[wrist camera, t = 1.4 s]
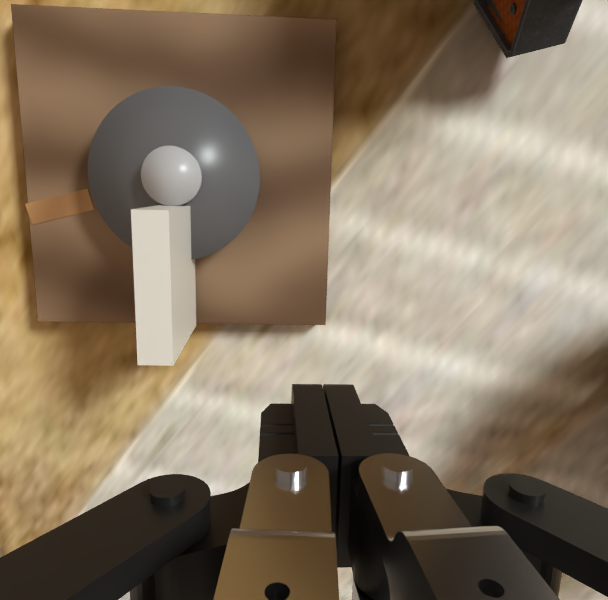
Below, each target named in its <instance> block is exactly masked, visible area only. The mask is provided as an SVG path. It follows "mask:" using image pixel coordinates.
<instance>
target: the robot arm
mask: <svg viewBox="0 0 608 600" xmlns="http://www.w3.org/2000/svg"><path fill="white" fill-rule="evenodd" d="M337 567H352V571H353V587H352V600H559V598H558V594H559V587H560V581H561V574H562V572H563V573H565V574H567V575H569V576H571V577H572V578H574V579H576V580H578V581H580V582H581V583H583V584H585V585H587V586H589V587H591V588H592V589H594V590H596V591H598V592H600V593H602V594H603V595H605V596H607V597H608V509H607V508H605V507H602V506H600V505H598V504H595V503H593V502H591V501H588V500H586V499H584V498H582V497H579V496H577V495H575V494H572V493H570V492H568V491H565V490H563V489H561V488H558V487H556V486H554V485H552V484H549V483H547V482H545V481H542V480H540V479H537V478H533V477H530V476H526V475H520V474H499V475H495V476H492V477H490V478H489V479H487V480H486V482H485V483H484V488H483V496H478V495H473V494H467V493H462V492H457V491H452V490H449V489H446V488H445V487H444V486H443V484H442V483H441V481H440V480H439V478H438V477H437V476H436V474H435V473H434V471H433V470H432V469H431V468H430V467H429V466H428V465H427V464H425V463H424V462H422V461H420V460H418V459H416V458H413V457H410V456H409V454H408V452H407V450H406V448H405V446H404V444H403V442H402V440H401V438H400V436H399V435H398V432H397V430H396V428H395V426H393V422H392V420H391V418H390V416H389V414H388V413H387V412H386V411H384V410H383V409H381V408H380V407H379V406H377V405H376V404H361V403H360V400H359V398H358V395H357V393H356V390H355V388H354V385H336V384H324V385H323V388H322V385H321V384H292V401H291V404H270V405H269V406H268V407H267V408H266V409H265V410H264V411H263V412H262V413H261V427H260V443H259V458H258V463H257V464H256V466H255V467H254V468H253V471H252V475H251V480H250V482H249V483H248V484H247V485H245V486H243V487H241V488H239V489H237V490H235V491H232V492H228V493H224V494H220V495H215V496H210V489H209V487H208V485H207V484H206V483H205V482H204V481H202V480H200V479H198V478H196V477H193V476H189V475H182V474H171V475H163V476H158V477H154V478H151V479H148V480H146V481H143V482H141V483H139V484H137V485H136V486H134V487H132V488H130V489H128V490H126V491H124V492H123V493H121V494H119V495H117V496H115V497H113V498H111V499H109V500H108V501H106V502H104V503H102V504H100V505H98V506H96V507H94V508H93V509H91V510H89V511H87V512H85V513H83V514H81V515H79V516H78V517H76V518H74V519H72V520H70V521H68V522H66V523H65V524H63V525H61V526H59V527H57V528H55V529H53V530H51V531H50V532H48V533H46V534H44V535H42V536H40V537H38V538H36V539H35V540H33V541H31V542H29V543H27V544H25V545H23V546H21V547H20V548H18V549H16V550H14V551H12V552H10V553H8V554H7V555H5V556H3V557H1V558H0V600H118V599H119V598H121V597H122V596H124V595H125V594H126V593H128V592H129V591H130V600H339V589H338V571H337Z"/></svg>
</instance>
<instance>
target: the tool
mask: <svg viewBox="0 0 608 600" xmlns="http://www.w3.org/2000/svg"><path fill="white" fill-rule="evenodd" d="M581 3H582V0H474V4H475V6H476V8H477V9H478V11H479V13H480V14H481V16H482V18H483V19H484V21H485V23H486V24H487V26H488V28H489V29H490V31H491V33H492V34H493V36H494V38H495V39H496V41H497V43H498V45H499V46H500V48H501V50H502V51H503V53H504V55H505V56H506V58H508V57H512V56H516V55H520V54H524V53H528V52H532V51H536V50H540V49H544V48H548V47H552V46H556V45H560V44H563V43H565V42H566V39H567V37H568V34H569V32H570V29H571V27H572V25H573V22H574V20H575V17H576V15H577V12H578V10H579V7H580V5H581Z"/></svg>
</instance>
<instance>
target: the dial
mask: <svg viewBox="0 0 608 600" xmlns="http://www.w3.org/2000/svg"><path fill="white" fill-rule="evenodd" d="M88 181H89V187H90V191H91V195H92V198H93V201H94V203H95V206H96V208H97V210H98V212H99V214H100V215H101V217H102V219H103V220H104V221H105V223H106V224H107V226H108V227H109V228H110V229H111V230H112V231H113V232H114V234H115V235H116V236H117V237H119V238H120V239H121V240H122V241H123V242H125V243H126V244H127V245H129V246H130V247H132V248H133V271H134V294H135V317H136V340H137V363H138V365H174V363H175V361H176V360H177V358H178V356H179V355H180V353H181V351H182V349H183V348H184V346H185V344H186V342H187V341H188V339H189V337H190V335H191V334H192V332H193V330H194V329H195V327H196V282H195V259H198V258H202V257H205V256H208V255H210V254H212V253H214V252H217V251H218V250H220V249H222V248H223V247H225V246H226V245H228V244H229V243H230V242H231V241H232V240H233V239H235V238H236V237H237V235H238V234H239V233H240V232H241V231H242V230H243V229H244V227H245V226H246V224H247V223H248V221H249V220H250V218H251V216H252V214H253V212H254V209H255V206H256V204H257V201H258V196H259V191H260V166H259V161H258V156H257V153H256V150H255V147H254V145H253V143H252V141H251V138H250V136H249V134H248V133H247V131H246V130H245V128H244V126H243V125H242V124H241V122H240V121H239V120H238V119H237V117H236V116H235V115H234V114H233V113H232V112H231V111H230V110H229V109H228V108H227V107H225V106H224V105H223V104H221V103H220V102H218V101H217V100H215V99H214V98H212V97H210V96H208V95H206V94H204V93H201V92H199V91H196V90H193V89H189V88H185V87H176V86H160V87H154V88H149V89H146V90H143V91H139V92H137V93H135V94H133V95H131V96H129V97H127V98H126V99H124V100H123V101H121V102H120V103H118V104H117V105H116V106H115V107H114V108H113V109H112V110H111V111H110V112H109V113H108V114H107V115H106V117H105V118H104V119H103V120H102V122H101V124H100V125H99V127H98V129H97V130H96V133H95V135H94V137H93V140H92V143H91V147H90V150H89V157H88Z"/></svg>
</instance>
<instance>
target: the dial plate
mask: <svg viewBox="0 0 608 600" xmlns="http://www.w3.org/2000/svg"><path fill="white" fill-rule="evenodd" d="M11 9H12V21H13V33H14V45H15V56H16V68H17V80H18V92H19V103H20V115H21V127H22V139H23V150H24V162H25V174H26V185H27V197H28V203H26V204H25V206H26V209H27V211H28V214H29V221H30V232H31V244H32V256H33V268H34V279H35V291H36V303H37V315H38V321H56V322H136V317H135V294H134V271H133V248H132V247H130V246H129V245H127V244H126V243H125V242H123V241H122V240H121V239H120V238H119V237H117V236H116V235H115V234H114V232H113V231H112V230H111V229H110V228H109V227H108V226H107V224H106V223H105V221H104V220H103V219H102V217H101V215H100V214H99V212H98V210H97V208H96V206H95V203H94V201H93V198H92V195H91V191H90V187H89V181H88V157H89V150H90V147H91V143H92V140H93V137H94V135H95V133H96V130H97V129H98V127H99V125H100V124H101V122H102V120H103V119H104V118H105V117H106V115H107V114H108V113H109V112H110V111H111V110H112V109H113V108H114V107H115V106H116V105H117V104H118V103H120V102H121V101H123V100H124V99H126V98H127V97H129V96H131V95H133V94H135V93H137V92H139V91H143V90H146V89H149V88H154V87H160V86H176V87H185V88H189V89H193V90H196V91H199V92H201V93H204V94H206V95H208V96H210V97H212V98H214V99H215V100H217V101H218V102H220V103H221V104H223V105H224V106H225V107H227V108H228V109H229V110H230V111H231V112H232V113H233V114H234V115H235V116H236V117H237V119H238V120H239V121H240V122H241V124H242V125H243V126H244V128H245V130H246V131H247V133H248V134H249V136H250V138H251V141H252V143H253V145H254V147H255V150H256V153H257V156H258V161H259V166H260V191H259V196H258V201H257V204H256V206H255V209H254V212H253V214H252V216H251V218H250V220H249V221H248V223H247V224H246V226H245V227H244V229H243V230H242V231H241V232H240V233H239V234H238V235H237V237H236V238H235V239H233V240H232V241H231V242H230V243H229V244H228V245H226V246H225V247H223V248H222V249H220V250H218V251H217V252H214V253H212V254H210V255H208V256H205V257H202V258H198V259H195V282H196V323H217V324H298V325H325V322H326V295H327V268H328V241H329V215H330V188H331V161H332V134H333V107H334V80H335V53H336V26H337V20H336V19H315V18H293V17H272V16H251V15H229V14H208V13H187V12H166V11H144V10H123V9H102V8H81V7H59V6H38V5H17V4H11Z"/></svg>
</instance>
